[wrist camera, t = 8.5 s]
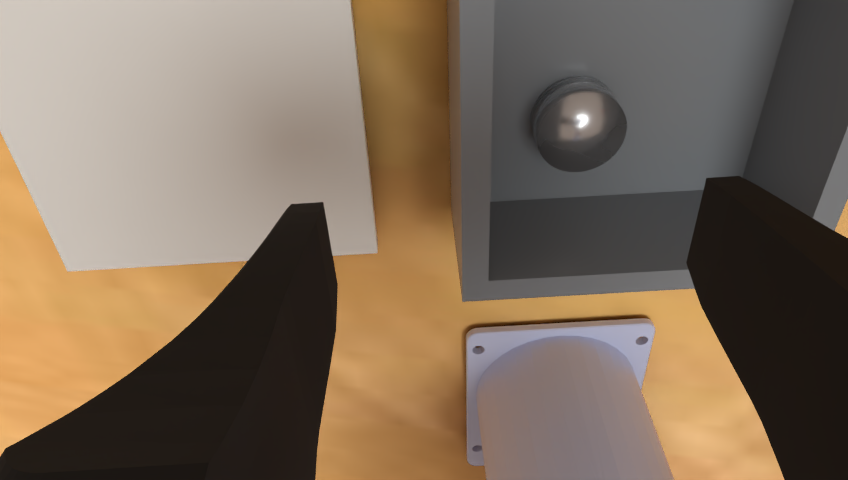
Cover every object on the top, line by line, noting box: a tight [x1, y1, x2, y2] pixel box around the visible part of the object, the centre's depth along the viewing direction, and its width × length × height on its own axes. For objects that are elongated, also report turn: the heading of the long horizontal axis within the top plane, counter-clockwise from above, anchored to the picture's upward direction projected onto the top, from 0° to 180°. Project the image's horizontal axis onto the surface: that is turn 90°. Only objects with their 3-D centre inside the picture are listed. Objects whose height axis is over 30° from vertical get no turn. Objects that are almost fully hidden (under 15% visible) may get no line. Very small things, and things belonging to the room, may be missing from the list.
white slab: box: [0, 0, 378, 271], centre depth 19 cm, size 18×11×4 cm, turn 2°
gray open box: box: [447, 0, 848, 302], centre depth 19 cm, size 14×11×5 cm
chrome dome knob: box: [531, 76, 627, 172], centre depth 22 cm, size 3×3×1 cm
